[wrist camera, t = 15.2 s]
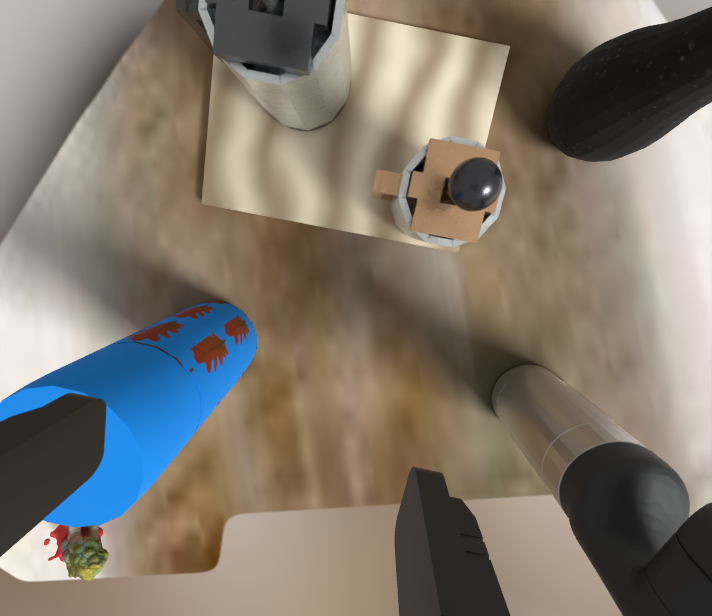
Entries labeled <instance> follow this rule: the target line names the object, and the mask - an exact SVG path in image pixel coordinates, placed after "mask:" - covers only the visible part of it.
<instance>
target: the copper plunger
mask: <svg viewBox="0 0 712 616" xmlns="http://www.w3.org/2000/svg"><path fill="white" fill-rule="evenodd" d="M422 171H423V170H422ZM422 171H421V172H422ZM409 185H410V184H409ZM502 185H503V178H502V174H501V171H500V169H499V167H498V166H497V165H496V164H495V163H494V162H493V161H491V160H489V159H487V158H484V157H473V158H469V159H467V160H465V161H463V162H461V163H460V164H459V165H458V166H457V167H456V168H455V169H454V171H453V172H452V174H451V176H450V179H445V181H444V185H443V190H442V194H441V198H440V203H444V204H449V205H454V206H457V207H459V208H460V209H462V210H465V211H470V212H476V211H481V210H483V209H486V208H488V207H489V206H490V205H492V204H493V203H494V202H495V201H496V199H497V198H498V197H499V195H500V193H501V190H502ZM408 190H409V186H408V188H407V193H406V200H407V203H408V207H409V210H410V213H411V216H412V217H413V213H414V208H415V203H416V199H413V198H408V197H407V195H408Z"/></svg>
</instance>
